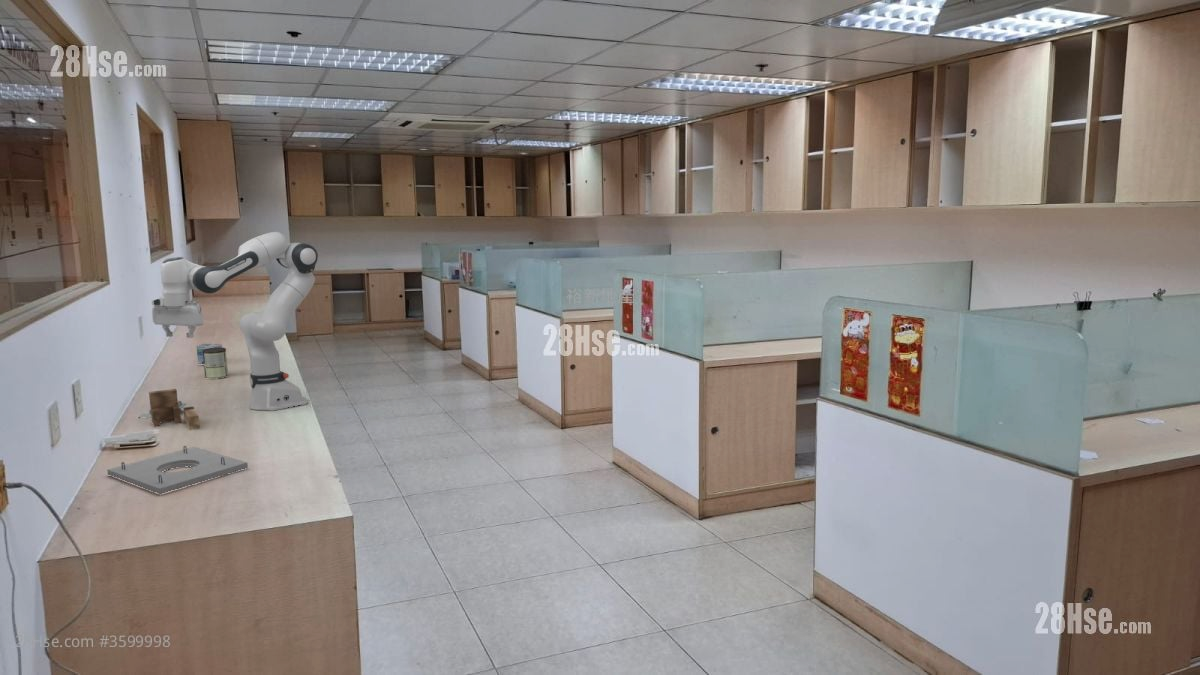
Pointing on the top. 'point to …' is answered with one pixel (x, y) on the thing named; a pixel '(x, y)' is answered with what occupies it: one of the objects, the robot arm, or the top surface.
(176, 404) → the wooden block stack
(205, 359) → the coffee can
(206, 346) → the light bulb box
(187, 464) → the mounting panel
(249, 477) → the top surface
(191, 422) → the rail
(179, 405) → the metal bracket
